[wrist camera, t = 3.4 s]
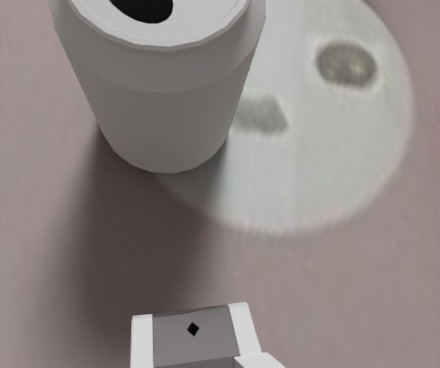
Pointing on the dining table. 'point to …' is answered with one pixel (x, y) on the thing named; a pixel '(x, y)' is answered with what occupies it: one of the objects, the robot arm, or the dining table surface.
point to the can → (161, 72)
